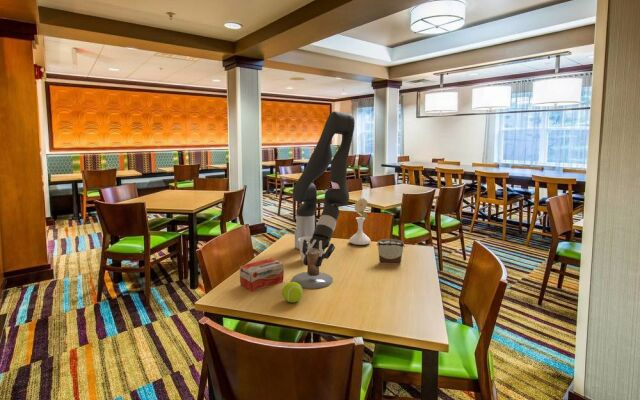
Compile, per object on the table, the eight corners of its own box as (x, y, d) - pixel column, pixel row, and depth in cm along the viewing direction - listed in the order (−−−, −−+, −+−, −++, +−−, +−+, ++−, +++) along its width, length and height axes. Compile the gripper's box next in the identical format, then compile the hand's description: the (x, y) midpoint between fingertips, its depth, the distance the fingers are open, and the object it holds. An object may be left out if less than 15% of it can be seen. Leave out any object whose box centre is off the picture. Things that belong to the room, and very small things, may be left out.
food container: (402, 260, 179) (403, 239, 178) (403, 264, 173) (404, 242, 171) (375, 258, 180) (376, 238, 179) (376, 263, 174) (376, 241, 173)
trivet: (284, 283, 150) (284, 281, 150) (304, 271, 164) (304, 269, 164) (321, 291, 143) (321, 289, 143) (339, 277, 157) (339, 275, 157)
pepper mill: (305, 274, 152) (305, 250, 150) (310, 271, 156) (310, 247, 154) (315, 276, 150) (315, 251, 148) (321, 273, 154) (321, 248, 152)
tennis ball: (279, 299, 136) (279, 280, 135) (298, 296, 139) (298, 277, 138) (286, 307, 130) (286, 287, 129) (305, 303, 133) (305, 284, 132)
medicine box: (250, 292, 142) (250, 271, 141) (239, 285, 148) (239, 265, 147) (284, 282, 152) (284, 262, 151) (272, 276, 158) (272, 257, 157)
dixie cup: (314, 263, 173) (314, 242, 172) (296, 262, 175) (296, 240, 173) (318, 257, 181) (318, 237, 180) (300, 256, 183) (300, 236, 181)
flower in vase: (345, 241, 209) (346, 195, 204) (365, 239, 212) (366, 194, 208) (355, 248, 196) (356, 199, 192) (375, 246, 200) (377, 198, 195)
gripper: (306, 221, 159) (291, 258, 151) (338, 225, 153) (324, 263, 144) (312, 231, 165) (298, 267, 156) (343, 235, 159) (330, 272, 150)
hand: (311, 265), depth 150 cm, fingers closed on pepper mill, 4 cm apart
